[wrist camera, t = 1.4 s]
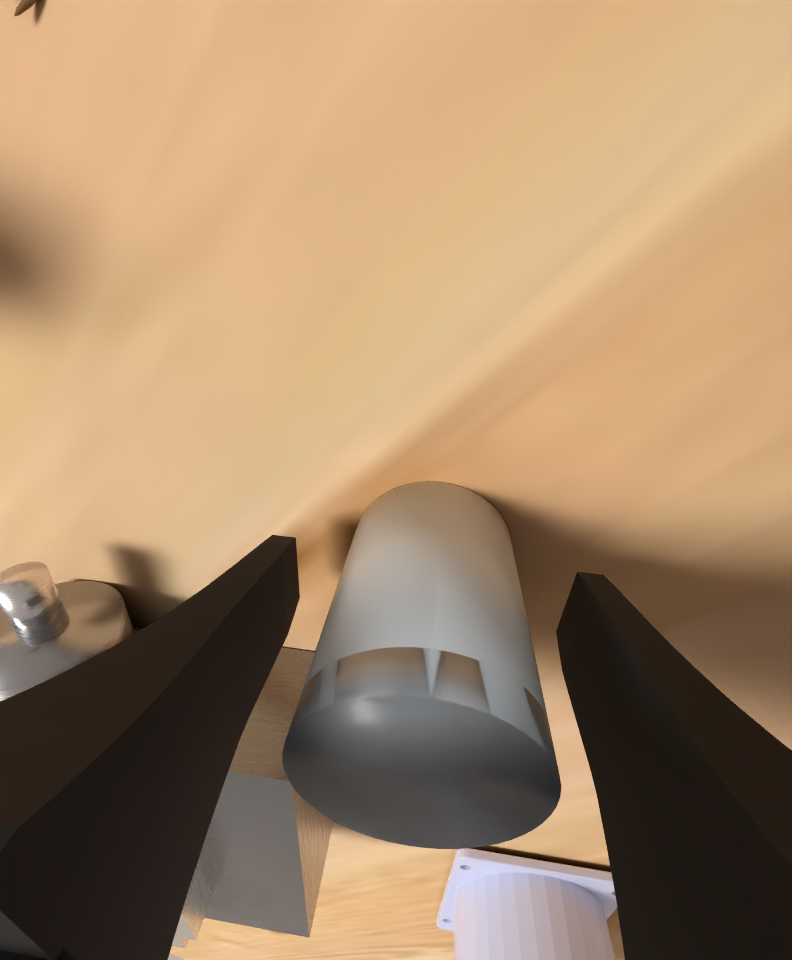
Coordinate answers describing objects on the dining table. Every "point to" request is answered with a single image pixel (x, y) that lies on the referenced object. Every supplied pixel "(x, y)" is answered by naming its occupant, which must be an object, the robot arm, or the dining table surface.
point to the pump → (426, 682)
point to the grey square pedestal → (251, 777)
